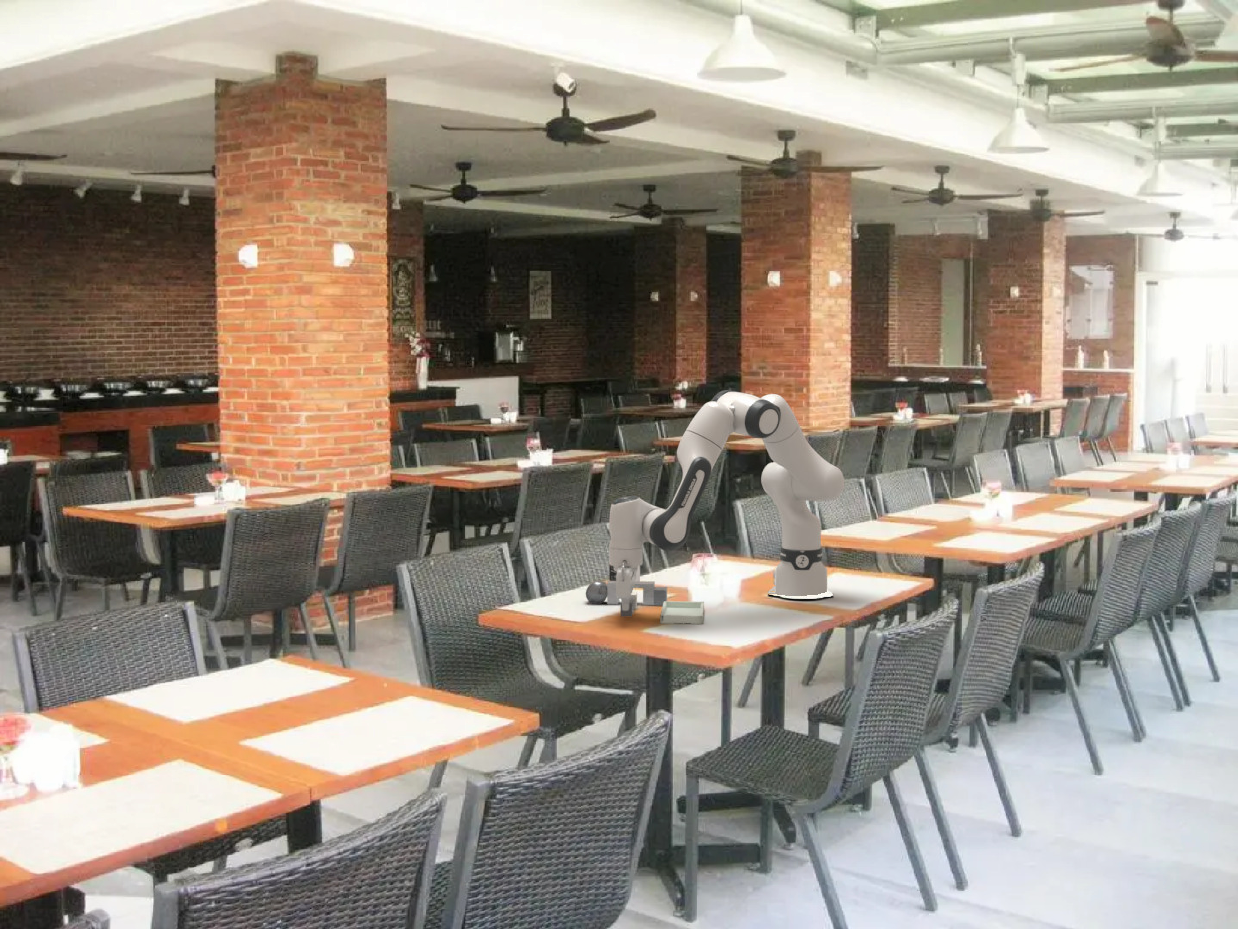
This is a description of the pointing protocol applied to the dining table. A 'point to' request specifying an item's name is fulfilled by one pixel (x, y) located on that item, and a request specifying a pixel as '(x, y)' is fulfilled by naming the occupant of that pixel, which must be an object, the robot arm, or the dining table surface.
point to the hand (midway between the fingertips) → (625, 609)
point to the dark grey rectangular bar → (632, 605)
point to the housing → (601, 591)
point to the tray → (682, 612)
